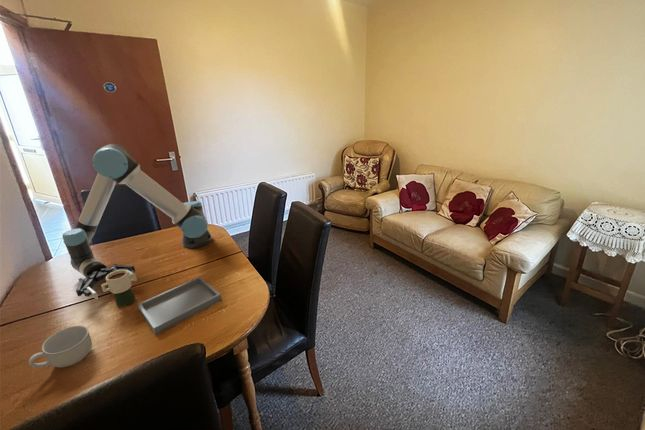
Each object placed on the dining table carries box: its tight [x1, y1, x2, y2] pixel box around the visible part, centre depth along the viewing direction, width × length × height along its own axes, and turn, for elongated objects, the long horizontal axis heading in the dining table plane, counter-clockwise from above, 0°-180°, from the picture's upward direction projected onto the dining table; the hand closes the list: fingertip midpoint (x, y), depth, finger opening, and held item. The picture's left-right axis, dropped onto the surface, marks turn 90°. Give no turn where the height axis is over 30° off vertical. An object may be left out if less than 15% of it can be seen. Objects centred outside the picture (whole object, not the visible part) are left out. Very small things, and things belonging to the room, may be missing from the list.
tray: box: [136, 276, 223, 336], centre depth 109 cm, size 24×18×3 cm
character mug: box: [100, 270, 137, 307], centre depth 110 cm, size 11×7×13 cm, turn 136°
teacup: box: [28, 325, 93, 369], centre depth 86 cm, size 14×11×8 cm
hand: (116, 286), depth 110 cm, fingers open, 13 cm apart
